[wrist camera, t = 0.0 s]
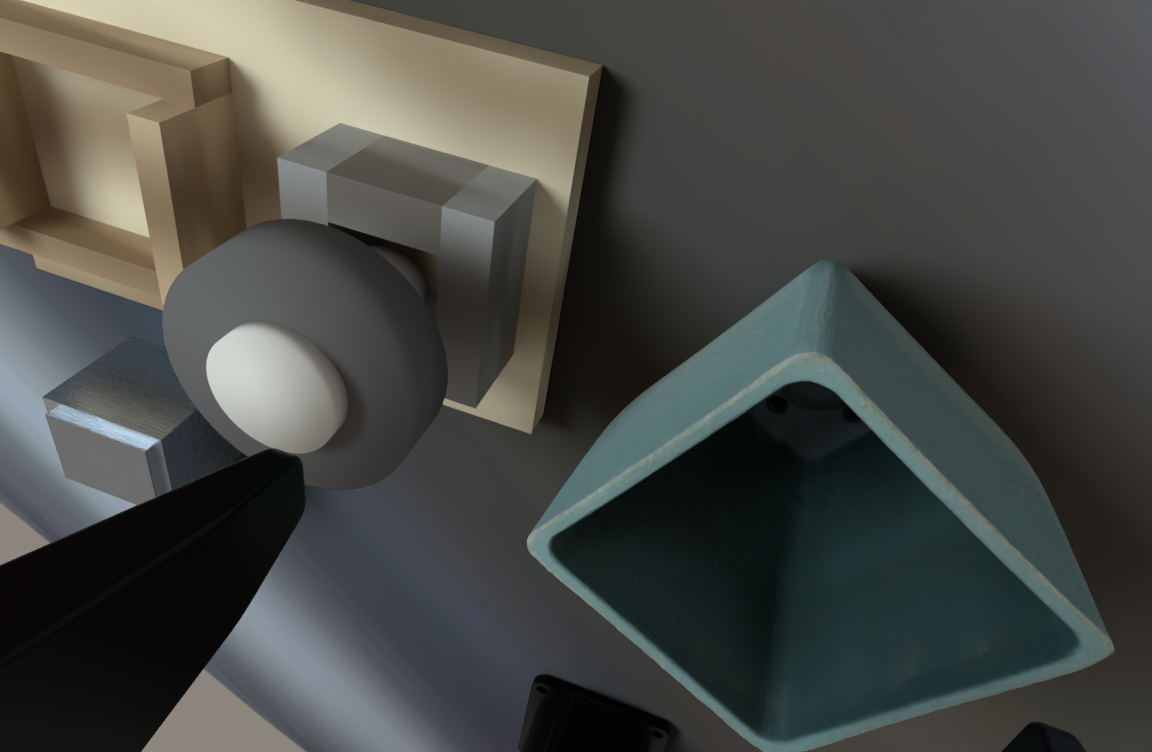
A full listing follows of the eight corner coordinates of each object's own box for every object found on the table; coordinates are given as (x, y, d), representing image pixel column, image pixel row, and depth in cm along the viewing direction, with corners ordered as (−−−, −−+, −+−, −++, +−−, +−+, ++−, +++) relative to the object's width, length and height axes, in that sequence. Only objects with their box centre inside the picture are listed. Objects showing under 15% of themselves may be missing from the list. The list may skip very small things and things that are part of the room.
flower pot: (614, 349, 26) (513, 548, 19) (837, 164, 20) (813, 345, 13) (800, 522, 27) (771, 766, 20) (1051, 391, 22) (1129, 659, 15)
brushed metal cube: (250, 445, 34) (170, 523, 30) (150, 409, 35) (59, 481, 31) (240, 371, 32) (152, 447, 28) (133, 334, 33) (33, 403, 29)
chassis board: (543, 413, 28) (497, 492, 25) (62, 254, 31) (-35, 305, 28) (602, 65, 21) (549, 110, 18) (-32, -98, 24) (-177, -85, 21)
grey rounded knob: (485, 410, 23) (397, 539, 19) (291, 345, 24) (167, 455, 20) (508, 211, 20) (404, 319, 15) (276, 144, 21) (119, 228, 16)
